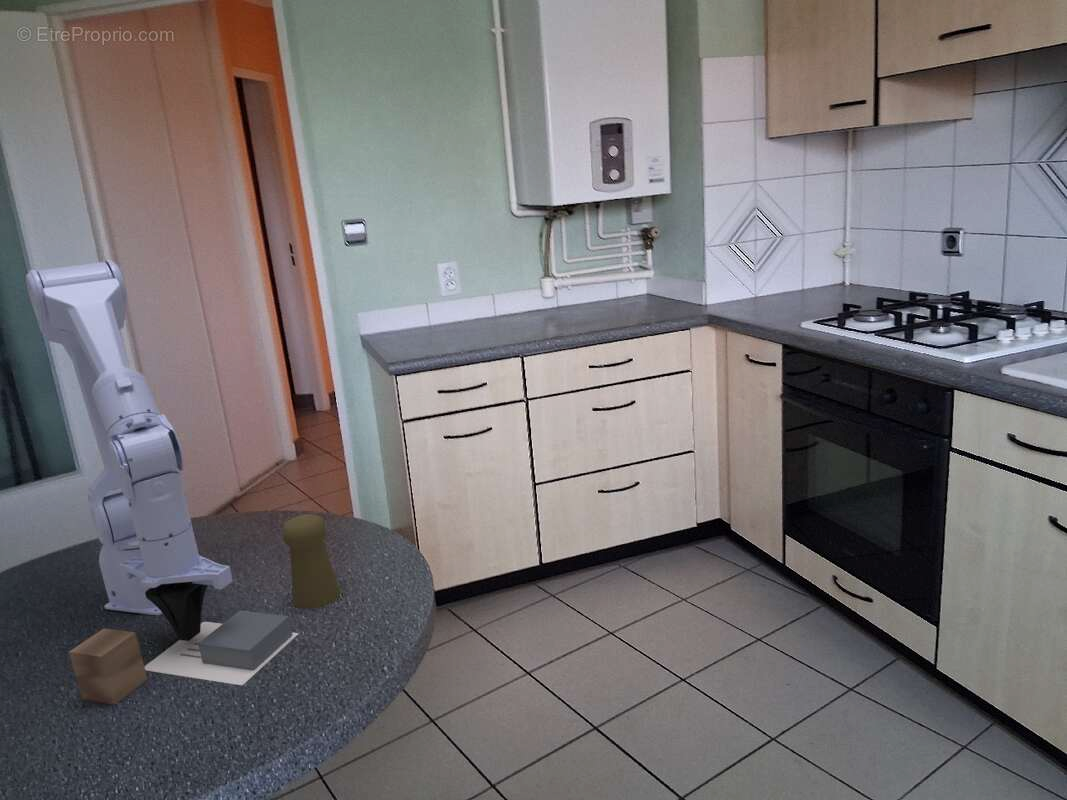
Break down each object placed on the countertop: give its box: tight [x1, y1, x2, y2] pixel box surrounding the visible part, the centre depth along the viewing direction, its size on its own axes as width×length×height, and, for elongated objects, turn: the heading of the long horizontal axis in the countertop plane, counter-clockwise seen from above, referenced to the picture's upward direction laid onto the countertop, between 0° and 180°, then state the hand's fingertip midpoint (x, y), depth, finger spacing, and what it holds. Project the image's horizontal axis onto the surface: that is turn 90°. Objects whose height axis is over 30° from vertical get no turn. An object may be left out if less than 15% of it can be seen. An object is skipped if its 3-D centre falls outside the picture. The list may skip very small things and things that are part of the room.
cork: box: [282, 513, 341, 610], centre depth 100 cm, size 6×6×11 cm
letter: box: [144, 621, 300, 686], centre depth 91 cm, size 14×10×1 cm
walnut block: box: [68, 628, 148, 706], centre depth 85 cm, size 4×4×6 cm
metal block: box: [198, 610, 293, 671], centre depth 90 cm, size 7×7×2 cm
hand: (190, 635), depth 93 cm, fingers closed
